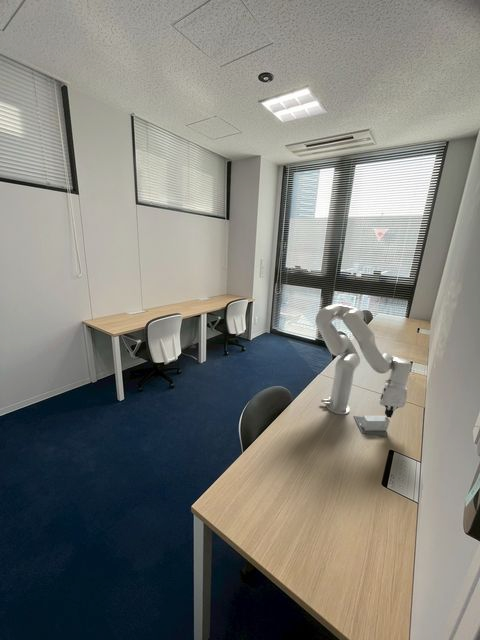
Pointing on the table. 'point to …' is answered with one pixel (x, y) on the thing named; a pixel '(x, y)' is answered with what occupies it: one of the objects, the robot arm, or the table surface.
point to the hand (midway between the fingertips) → (388, 415)
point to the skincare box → (375, 423)
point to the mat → (373, 432)
